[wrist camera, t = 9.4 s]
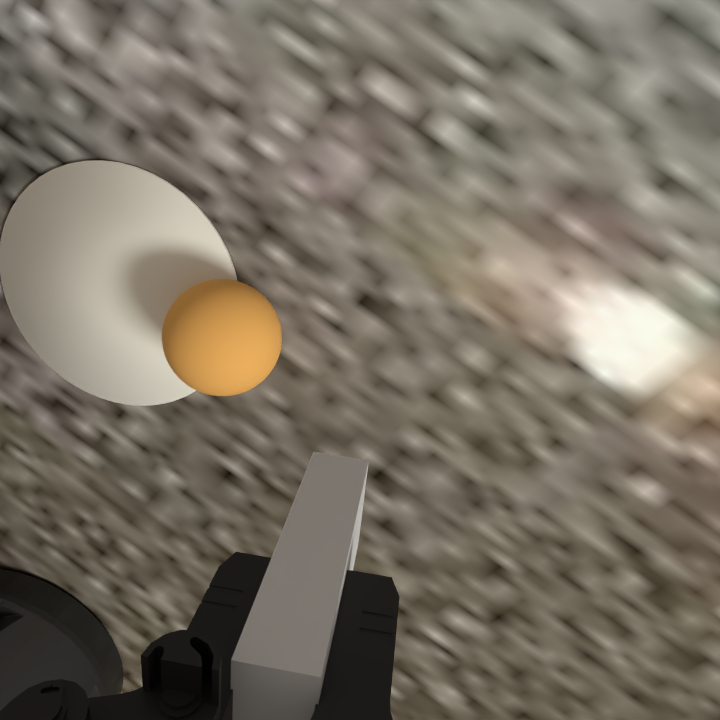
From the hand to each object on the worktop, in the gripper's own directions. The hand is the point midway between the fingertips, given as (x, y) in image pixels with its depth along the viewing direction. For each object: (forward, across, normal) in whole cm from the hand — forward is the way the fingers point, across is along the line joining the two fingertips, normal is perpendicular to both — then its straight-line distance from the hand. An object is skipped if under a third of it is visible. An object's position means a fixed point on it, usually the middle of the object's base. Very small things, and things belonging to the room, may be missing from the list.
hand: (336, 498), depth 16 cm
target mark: (+14, +14, 0) cm, 20 cm away
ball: (+12, +7, +1) cm, 14 cm away
